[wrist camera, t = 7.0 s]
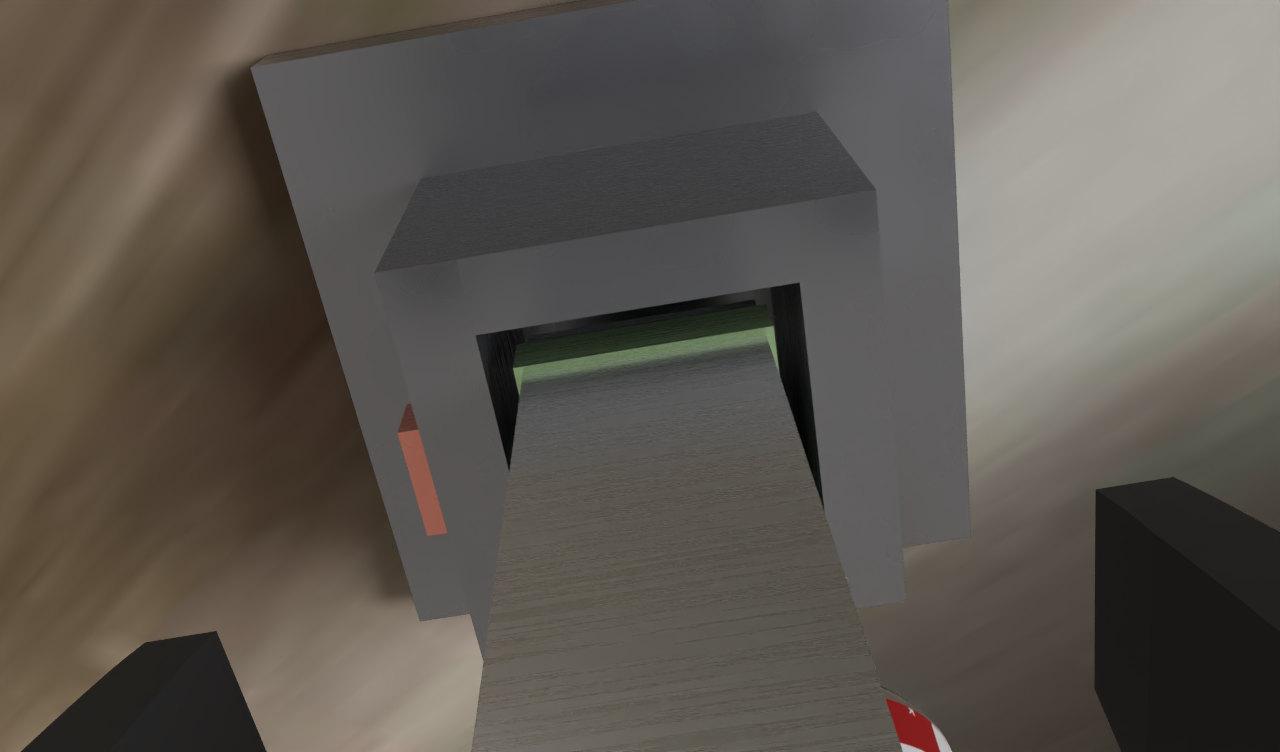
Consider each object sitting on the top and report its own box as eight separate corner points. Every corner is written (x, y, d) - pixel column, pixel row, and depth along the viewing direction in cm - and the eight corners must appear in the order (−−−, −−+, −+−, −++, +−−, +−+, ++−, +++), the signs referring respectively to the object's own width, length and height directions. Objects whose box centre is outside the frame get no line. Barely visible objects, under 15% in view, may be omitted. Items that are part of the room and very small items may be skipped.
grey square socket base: (927, -61, 17) (1046, -18, 12) (955, 507, 21) (1050, 689, 17) (268, 54, 17) (152, 136, 13) (427, 588, 22) (383, 788, 17)
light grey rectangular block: (761, 291, 15) (926, 762, 7) (786, 498, 16) (947, 1073, 9) (518, 330, 15) (440, 835, 8) (565, 532, 16) (537, 1128, 9)
